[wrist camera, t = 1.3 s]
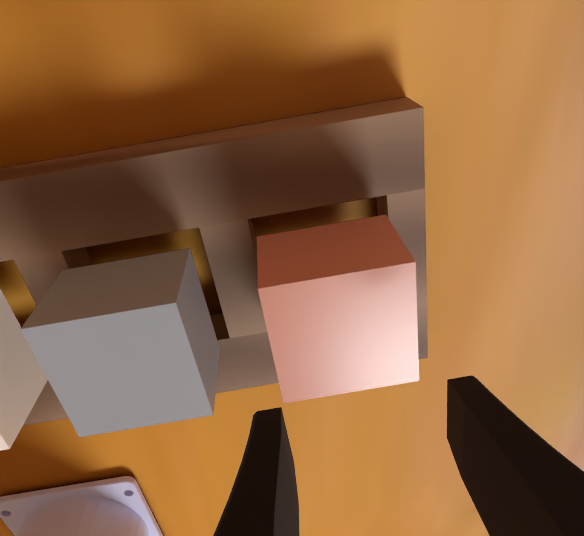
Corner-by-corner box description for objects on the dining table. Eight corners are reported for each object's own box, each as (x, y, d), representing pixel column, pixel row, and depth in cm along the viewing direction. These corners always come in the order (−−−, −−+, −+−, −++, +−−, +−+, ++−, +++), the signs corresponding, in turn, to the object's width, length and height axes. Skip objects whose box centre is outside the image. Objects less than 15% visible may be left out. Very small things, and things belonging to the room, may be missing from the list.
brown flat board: (414, 331, 23) (427, 357, 21) (-28, 405, 23) (-50, 437, 22) (406, 97, 18) (423, 107, 16) (-168, 197, 18) (-213, 218, 16)
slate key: (219, 349, 19) (213, 415, 16) (107, 367, 19) (79, 437, 16) (190, 248, 17) (175, 302, 14) (62, 270, 17) (20, 329, 14)
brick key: (392, 319, 19) (419, 380, 16) (278, 339, 19) (283, 403, 16) (386, 214, 17) (415, 262, 14) (256, 236, 17) (257, 288, 14)
